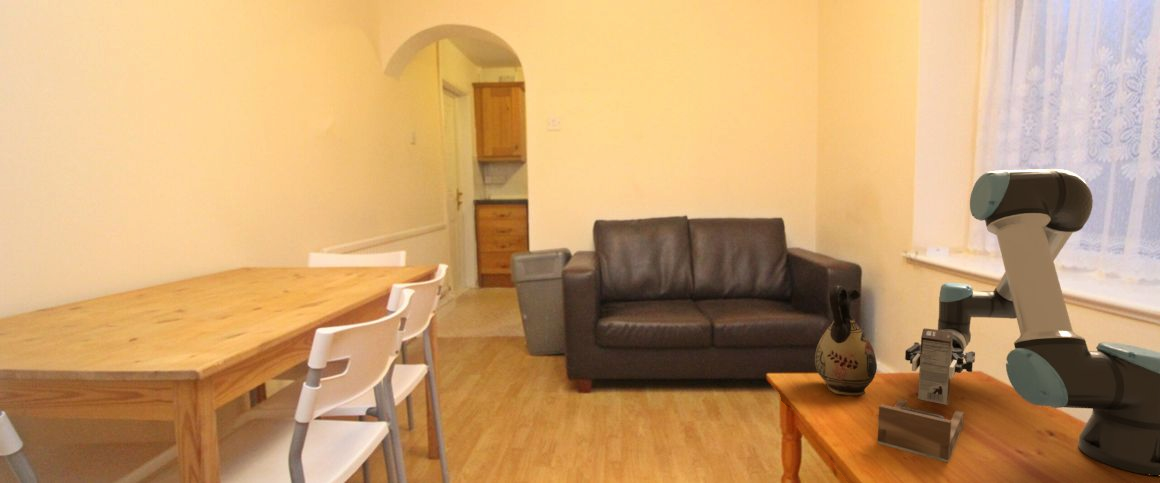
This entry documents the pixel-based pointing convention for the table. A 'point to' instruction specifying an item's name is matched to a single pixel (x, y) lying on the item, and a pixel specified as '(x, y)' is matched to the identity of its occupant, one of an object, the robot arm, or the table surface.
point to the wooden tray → (918, 431)
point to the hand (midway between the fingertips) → (932, 369)
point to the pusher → (923, 412)
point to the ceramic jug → (845, 349)
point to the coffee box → (935, 366)
